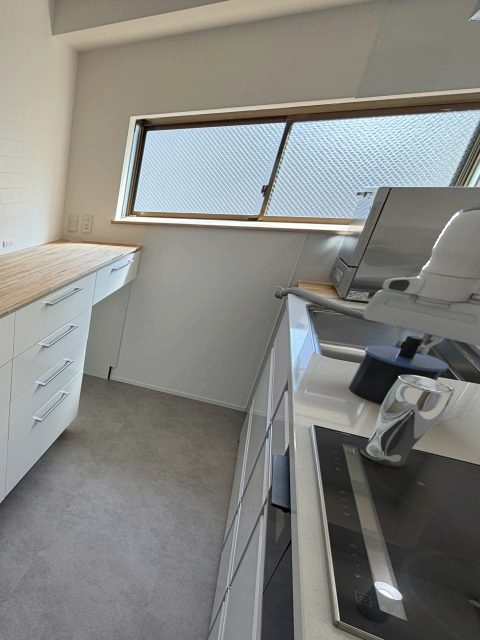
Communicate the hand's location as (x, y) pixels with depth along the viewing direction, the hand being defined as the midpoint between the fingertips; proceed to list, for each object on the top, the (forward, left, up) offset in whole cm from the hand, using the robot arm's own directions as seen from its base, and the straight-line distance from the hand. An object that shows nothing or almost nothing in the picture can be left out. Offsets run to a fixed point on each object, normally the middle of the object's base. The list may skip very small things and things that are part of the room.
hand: (408, 350), depth 91 cm
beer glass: (-12, +32, -12) cm, 36 cm away
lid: (0, 0, -2) cm, 2 cm away
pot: (0, 0, -12) cm, 12 cm away
